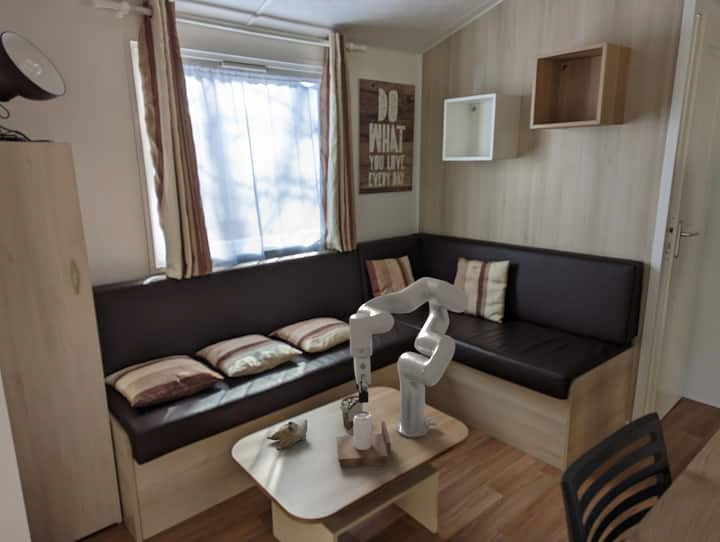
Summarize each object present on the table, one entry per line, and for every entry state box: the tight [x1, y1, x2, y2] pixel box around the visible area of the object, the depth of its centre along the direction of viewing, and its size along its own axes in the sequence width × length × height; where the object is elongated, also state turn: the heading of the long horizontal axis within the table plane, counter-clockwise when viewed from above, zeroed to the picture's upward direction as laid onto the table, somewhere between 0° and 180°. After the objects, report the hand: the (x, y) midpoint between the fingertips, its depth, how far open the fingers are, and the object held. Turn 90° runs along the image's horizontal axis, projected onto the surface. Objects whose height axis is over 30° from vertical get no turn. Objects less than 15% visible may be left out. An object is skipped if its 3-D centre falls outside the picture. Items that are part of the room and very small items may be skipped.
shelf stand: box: [336, 420, 392, 469], centre depth 180 cm, size 18×14×9 cm
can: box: [353, 410, 373, 450], centre depth 179 cm, size 6×6×12 cm
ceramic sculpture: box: [266, 419, 308, 451], centre depth 190 cm, size 11×9×15 cm
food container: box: [339, 394, 364, 431], centre depth 202 cm, size 12×6×10 cm, turn 149°
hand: (362, 395), depth 176 cm, fingers open, 9 cm apart
